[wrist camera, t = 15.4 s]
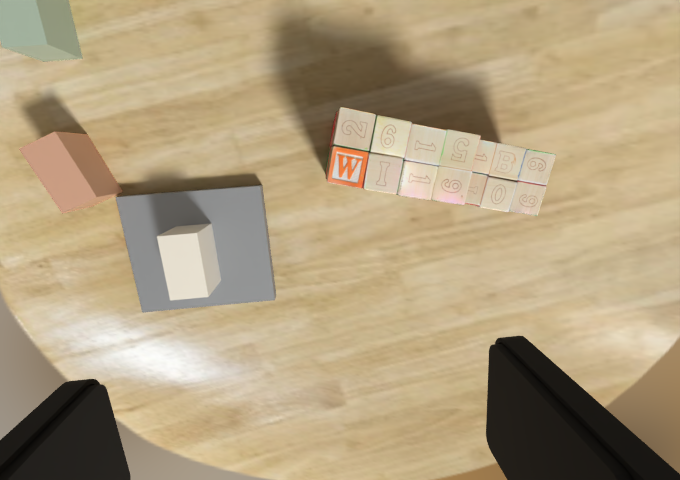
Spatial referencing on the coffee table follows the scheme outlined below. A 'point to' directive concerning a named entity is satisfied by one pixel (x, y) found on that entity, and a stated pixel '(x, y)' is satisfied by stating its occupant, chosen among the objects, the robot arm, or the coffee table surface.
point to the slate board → (229, 235)
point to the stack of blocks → (435, 163)
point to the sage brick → (39, 29)
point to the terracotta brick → (71, 170)
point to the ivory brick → (189, 261)
